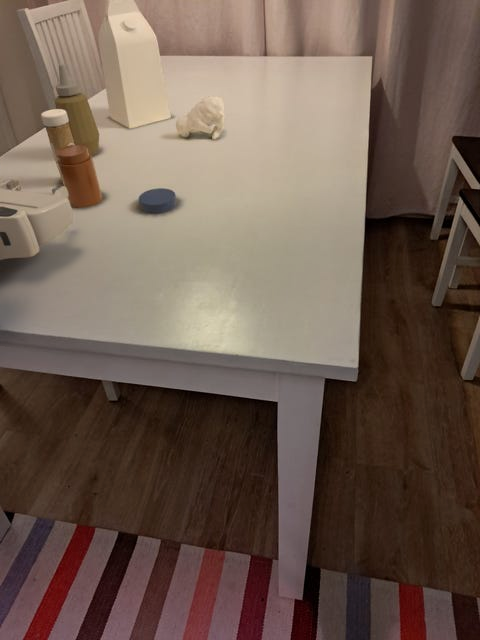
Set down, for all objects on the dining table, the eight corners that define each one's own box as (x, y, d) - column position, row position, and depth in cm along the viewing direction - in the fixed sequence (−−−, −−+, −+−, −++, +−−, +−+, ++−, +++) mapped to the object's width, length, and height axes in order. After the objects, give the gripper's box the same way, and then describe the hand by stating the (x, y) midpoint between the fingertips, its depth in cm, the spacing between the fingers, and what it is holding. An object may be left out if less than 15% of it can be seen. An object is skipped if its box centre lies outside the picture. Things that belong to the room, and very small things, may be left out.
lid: (177, 212, 82) (175, 202, 81) (140, 216, 82) (138, 206, 80) (176, 195, 87) (174, 186, 86) (141, 199, 87) (139, 190, 85)
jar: (63, 202, 87) (47, 152, 81) (88, 190, 90) (75, 141, 84) (83, 211, 84) (68, 159, 78) (109, 198, 87) (96, 148, 81)
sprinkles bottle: (78, 187, 92) (58, 116, 83) (57, 185, 93) (35, 115, 84) (88, 177, 95) (70, 108, 86) (68, 176, 96) (48, 107, 87)
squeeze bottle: (73, 147, 108) (49, 61, 97) (107, 146, 108) (87, 59, 96) (62, 161, 102) (34, 71, 91) (97, 160, 102) (75, 69, 90)
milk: (150, 108, 129) (132, -6, 112) (171, 117, 121) (155, -3, 104) (110, 118, 124) (85, 0, 107) (129, 128, 116) (105, 4, 99)
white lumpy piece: (222, 99, 102) (169, 107, 103) (228, 138, 108) (178, 145, 109) (223, 91, 107) (172, 99, 108) (228, 128, 112) (180, 136, 113)
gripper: (-68, 238, 71) (-4, 197, 80) (43, 258, 65) (97, 212, 75) (-89, 200, 67) (-19, 162, 76) (27, 218, 61) (87, 175, 71)
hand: (39, 187), depth 76 cm, fingers open, 8 cm apart
